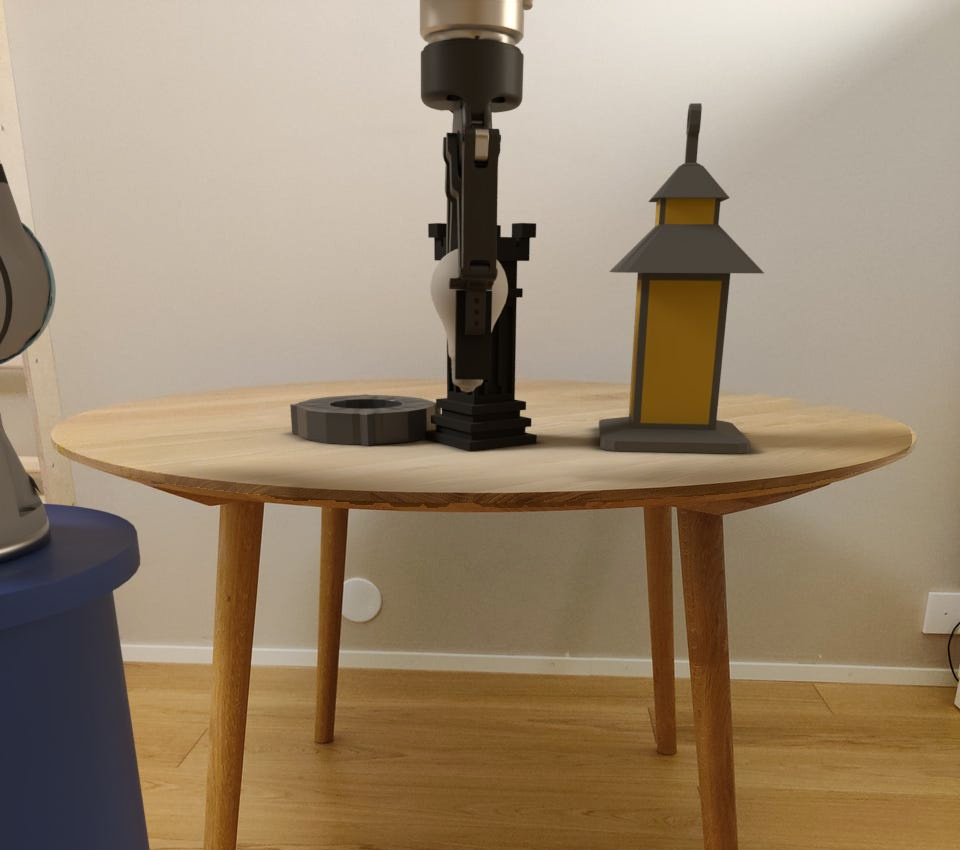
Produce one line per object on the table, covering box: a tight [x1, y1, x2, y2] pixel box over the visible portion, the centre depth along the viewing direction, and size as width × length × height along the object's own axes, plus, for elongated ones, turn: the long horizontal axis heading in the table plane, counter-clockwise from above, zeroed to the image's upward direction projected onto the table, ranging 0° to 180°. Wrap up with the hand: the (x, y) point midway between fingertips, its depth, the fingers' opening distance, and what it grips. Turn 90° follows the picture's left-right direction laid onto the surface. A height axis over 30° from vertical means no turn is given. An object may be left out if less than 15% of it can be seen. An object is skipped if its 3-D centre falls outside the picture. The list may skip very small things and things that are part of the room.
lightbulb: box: [429, 249, 508, 392], centre depth 76 cm, size 6×6×11 cm
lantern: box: [598, 102, 765, 455], centre depth 91 cm, size 14×14×30 cm
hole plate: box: [289, 393, 442, 446], centre depth 99 cm, size 14×14×3 cm
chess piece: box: [425, 222, 538, 452], centre depth 92 cm, size 8×8×20 cm
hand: (467, 373), depth 77 cm, fingers closed on lightbulb, 6 cm apart
